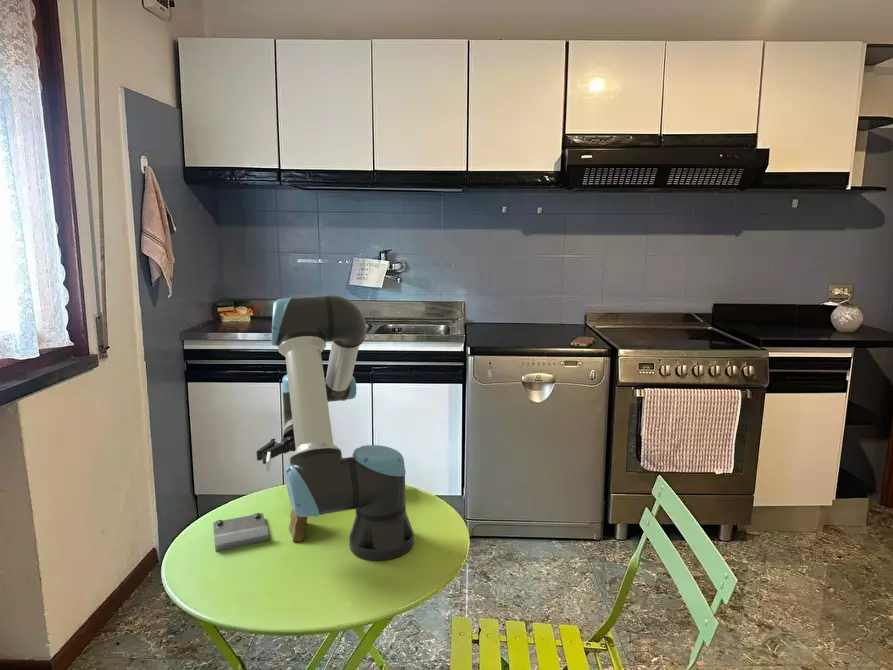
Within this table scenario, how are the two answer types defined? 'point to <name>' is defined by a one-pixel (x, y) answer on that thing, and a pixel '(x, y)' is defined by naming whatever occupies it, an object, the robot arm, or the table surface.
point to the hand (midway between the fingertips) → (295, 463)
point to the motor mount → (240, 531)
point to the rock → (297, 526)
